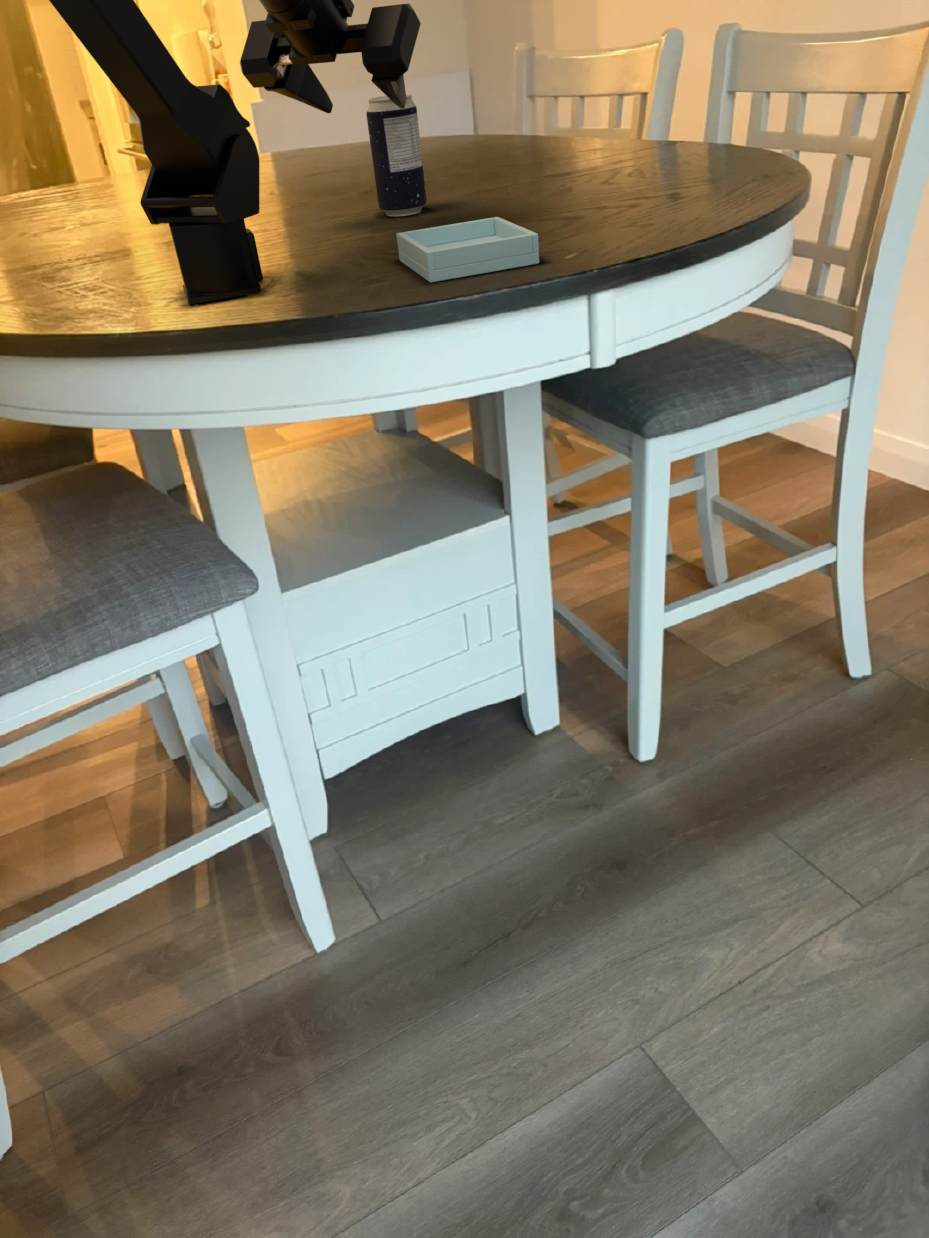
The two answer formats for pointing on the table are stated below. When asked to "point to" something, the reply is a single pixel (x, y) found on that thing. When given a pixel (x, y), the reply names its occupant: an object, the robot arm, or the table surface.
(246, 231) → the robot arm
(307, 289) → the table surface
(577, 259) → the table surface
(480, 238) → the rectangular tray
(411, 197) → the beverage can
